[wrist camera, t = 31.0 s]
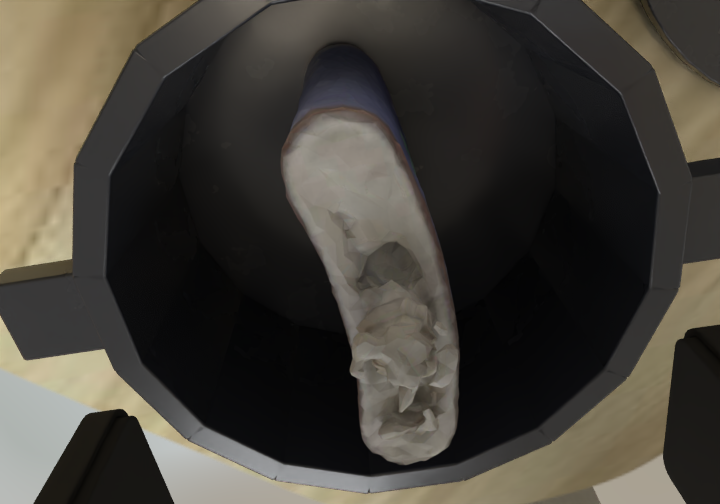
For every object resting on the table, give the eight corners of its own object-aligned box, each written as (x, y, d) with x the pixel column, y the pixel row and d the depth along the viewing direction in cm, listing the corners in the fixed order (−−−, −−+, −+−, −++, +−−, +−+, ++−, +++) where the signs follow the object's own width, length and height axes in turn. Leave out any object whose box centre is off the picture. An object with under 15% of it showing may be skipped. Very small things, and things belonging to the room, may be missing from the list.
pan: (635, 305, 23) (753, 443, 17) (163, 373, 24) (96, 531, 18) (669, -109, 17) (887, -152, 10) (15, 7, 18) (-183, 37, 11)
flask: (294, 52, 18) (245, 160, 8) (385, 28, 18) (440, 112, 8) (362, 293, 22) (380, 546, 13) (436, 277, 22) (510, 522, 12)
